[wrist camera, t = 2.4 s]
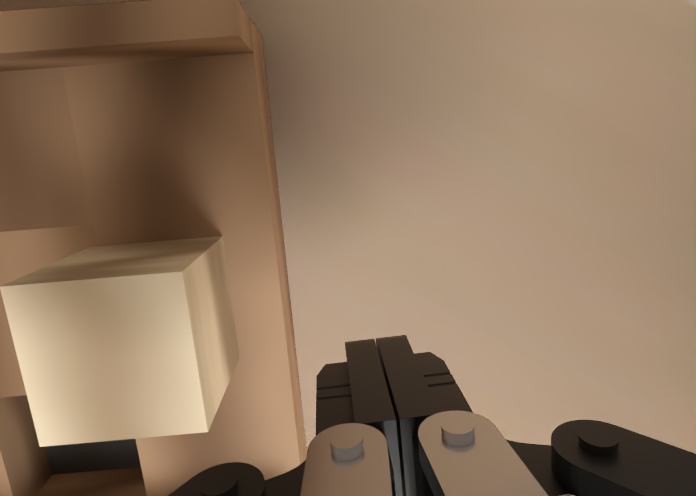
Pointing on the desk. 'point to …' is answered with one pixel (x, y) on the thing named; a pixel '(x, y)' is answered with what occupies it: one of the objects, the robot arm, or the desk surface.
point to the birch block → (125, 340)
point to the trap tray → (146, 215)
